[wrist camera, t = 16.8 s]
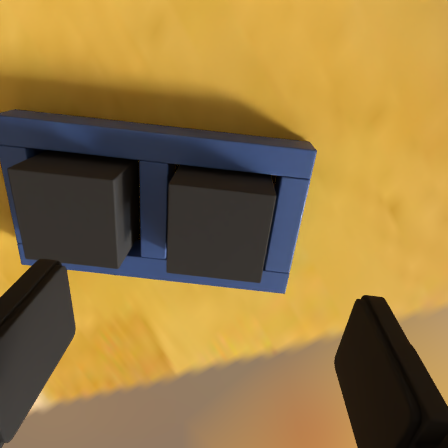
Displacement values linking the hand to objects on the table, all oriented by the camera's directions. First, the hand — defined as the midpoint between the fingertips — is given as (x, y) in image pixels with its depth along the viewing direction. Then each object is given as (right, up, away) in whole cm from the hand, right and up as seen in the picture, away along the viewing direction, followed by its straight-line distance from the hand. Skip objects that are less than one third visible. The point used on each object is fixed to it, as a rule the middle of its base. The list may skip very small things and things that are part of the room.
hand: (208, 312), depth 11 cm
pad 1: (-7, +5, +9) cm, 12 cm away
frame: (-3, +4, +9) cm, 11 cm away
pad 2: (0, +4, +9) cm, 10 cm away
